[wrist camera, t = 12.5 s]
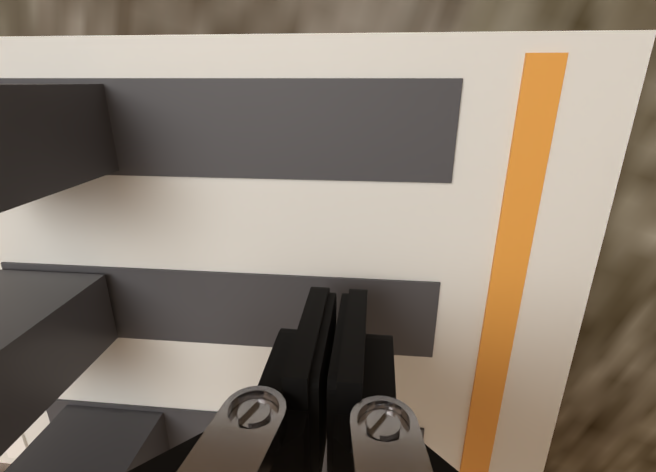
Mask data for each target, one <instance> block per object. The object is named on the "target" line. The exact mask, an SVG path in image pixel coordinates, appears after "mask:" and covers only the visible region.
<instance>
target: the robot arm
mask: <svg viewBox="0 0 656 472" xmlns="http://www.w3.org/2000/svg"><path fill="white" fill-rule="evenodd" d="M367 293H368V290H365V289H349V293H342V295H341V301H340V307H339V312H338V318H337V324H336V309H337V295H336V293H331V292H330V288H328V287H311V288H310V291H309V294H308V297H307V300H306V303H305V306H304V310H303V313H302V316H301V319H300V322H299V325H298V328H297V329H286V328H281V329H280V330H279V332H278V335H277V337H276V340H275V342H274V345H273V347H272V350H271V353H270V355H269V358H268V360H267V363H266V365H265V368H264V370H263V373H262V375H261V378H260V381H259V383H258V386H251V387H246V388H243V389H241V390H238V391H237V392H235V393H233V394H232V395H230V396H229V397H228V399H227V400H226V401H225V402H224V403H223V405H222V406H221V407H220V409H219V410H218V412H217V413H216V415H215V416H214V418H213V419H212V421H211V422H210V424H209V425H208V426H207V428H206V429H205V431H204V432H202V433H200V434H198V435H196V436H194V437H193V438H191V439H189V440H187V441H185V442H183V443H181V444H179V445H177V446H175V447H173V448H172V449H170V450H168V451H166V452H164V453H162V454H160V455H158V456H156V457H154V458H152V459H151V460H149V461H147V462H145V463H143V464H141V465H139V466H137V467H135V468H133V469H131V470H130V471H128V472H322V468H323V461H324V454H325V447H326V440H327V472H459V471H457V470H456V469H455V468H454V467H452V466H451V465H450V464H449V463H448V462H446V461H445V460H444V459H443V458H442V457H440V456H439V455H438V454H437V453H435V452H434V451H433V450H432V449H431V448H429V447H428V446H427V445H426V444H425V443H424V440H423V437H422V433H421V430H420V427H419V423H418V420H417V418H416V416H415V414H414V412H413V410H412V409H411V408H410V407H409V406H408V405H407V404H405V403H403V402H402V401H400V400H398V399H396V384H395V366H394V348H393V336H392V335H377V334H366V319H367Z"/></svg>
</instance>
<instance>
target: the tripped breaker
mask: <svg viewBox="0 0 656 472" xmlns="http://www.w3.org/2000/svg"><path fill="white" fill-rule="evenodd" d="M117 338H118V335H117V330H116V325H115V321H114V316H113V311H112V307H111V302H110V297H109V293H108V288H107V283H106V279H105V274H84V273H63V272H42V271H21V270H1V269H0V457H1V456H2V455H3V454H4V452H5V451H6V450H7V449H8V448H9V447H10V446H11V445H12V444H13V443H14V442H15V441H16V440H17V439H18V438H19V437H20V436H21V435H22V434H23V433H24V432H25V431H26V430H27V429H28V428H29V427H30V426H31V425H32V424H33V423H34V422H35V421H36V420H37V419H38V418H39V417H40V416H41V415H42V414H43V413H44V412H45V411H46V410H47V409H48V408H49V407H50V406H51V405H52V404H53V403H54V402H55V401H56V400H57V399H58V398H59V397H60V396H61V395H62V394H63V393H64V392H65V391H66V390H67V389H68V388H69V387H70V386H71V385H72V384H73V383H74V382H75V381H76V380H77V379H78V378H79V377H80V376H81V375H82V374H83V373H84V372H85V371H86V370H87V369H88V368H89V366H90V365H91V364H92V363H93V362H94V361H95V360H96V359H97V358H98V357H99V356H100V355H101V354H102V353H103V352H104V351H105V350H106V349H107V348H108V347H109V346H110V345H111V344H112V343H113V342H114V341H115V340H116V339H117Z"/></svg>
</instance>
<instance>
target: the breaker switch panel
mask: <svg viewBox="0 0 656 472" xmlns="http://www.w3.org/2000/svg"><path fill="white" fill-rule="evenodd" d="M655 36H656V30H605V31H506V32H406V33H307V34H208V35H109V36H10V37H0V269H1V270H21V271H42V272H63V273H84V274H105V279H106V283H107V288H108V293H109V297H110V302H111V307H112V311H113V316H114V321H115V325H116V330H117V335H118V338H117V339H116V340H115V341H114V342H113V343H112V344H111V345H110V346H109V347H108V348H107V349H106V350H105V351H104V352H103V353H102V354H101V355H100V356H99V357H98V358H97V359H96V360H95V361H94V362H93V363H92V364H91V365H90V366H89V368H88V369H87V370H86V371H85V372H84V373H83V374H82V375H81V376H80V377H79V378H78V379H77V380H76V381H75V382H74V383H73V384H72V385H71V386H70V387H69V388H68V389H67V390H66V391H65V392H64V393H63V394H62V395H61V396H60V397H59V398H58V399H57V400H56V401H55V402H54V403H53V404H52V405H51V406H50V407H49V408H48V409H47V410H46V411H45V412H44V413H43V414H42V415H41V416H40V417H39V418H38V419H37V420H36V421H35V422H34V423H33V424H32V425H31V426H30V427H29V428H28V429H27V430H26V431H25V432H24V433H23V434H22V435H21V436H20V437H19V438H18V439H17V440H16V441H15V442H14V443H13V444H12V445H11V446H10V447H9V448H8V449H7V450H6V451H5V452H4V454H3V455H2V456H1V457H0V462H1V463H11V465H10V466H9V467H8V468H7V469H6V470H5V471H4V472H128V471H130V470H131V469H133V468H135V467H137V466H139V465H141V464H143V463H145V462H147V461H149V460H151V459H152V458H154V457H156V456H158V455H160V454H162V453H164V452H166V451H168V450H170V449H172V448H173V447H175V446H177V445H179V444H181V443H183V442H185V441H187V440H189V439H191V438H193V437H194V436H196V435H198V434H200V433H202V432H204V431H205V429H206V428H207V426H208V425H209V424H210V422H211V421H212V419H213V418H214V416H215V415H216V413H217V412H218V410H219V409H220V407H221V406H222V405H223V403H224V402H225V401H226V400H227V399H228V397H229V396H230V395H232V394H233V393H235V392H237V391H238V390H241V389H243V388H246V387H251V386H258V383H259V381H260V378H261V375H262V373H263V370H264V368H265V365H266V363H267V360H268V358H269V355H270V353H271V350H272V347H273V345H274V342H275V340H276V337H277V335H278V332H279V330H280V329H281V328H286V329H297V328H298V325H299V322H300V319H301V316H302V313H303V310H304V306H305V303H306V300H307V297H308V294H309V291H310V288H311V287H328V288H330V292H331V293H336V295H337V309H336V324H337V318H338V312H339V307H340V301H341V295H342V293H349V289H365V290H368V293H367V319H366V334H377V335H392V336H393V348H394V366H395V384H396V399H398V400H400V401H402V402H403V403H405V404H407V405H408V406H409V407H410V408H411V409H412V410H413V412H414V414H415V416H416V418H417V420H418V423H419V427H420V430H421V433H422V437H423V440H424V443H425V444H426V445H427V446H428V447H429V448H431V449H432V450H433V451H434V452H435V453H437V454H438V455H439V456H440V457H442V458H443V459H444V460H445V461H446V462H448V463H449V464H450V465H451V466H452V467H454V468H455V469H456V470H457V471H459V472H543V471H544V467H545V463H546V460H547V456H548V452H549V448H550V444H551V440H552V436H553V432H554V428H555V425H556V421H557V417H558V413H559V409H560V405H561V401H562V397H563V393H564V390H565V386H566V382H567V378H568V374H569V370H570V366H571V362H572V358H573V355H574V351H575V347H576V343H577V339H578V335H579V331H580V327H581V323H582V319H583V316H584V312H585V308H586V304H587V300H588V296H589V292H590V288H591V284H592V281H593V277H594V273H595V269H596V265H597V261H598V257H599V253H600V249H601V246H602V242H603V238H604V234H605V230H606V226H607V222H608V218H609V214H610V211H611V207H612V203H613V199H614V195H615V191H616V187H617V183H618V179H619V176H620V172H621V168H622V164H623V160H624V156H625V152H626V148H627V144H628V141H629V137H630V133H631V129H632V125H633V121H634V117H635V113H636V109H637V106H638V102H639V98H640V94H641V90H642V86H643V82H644V78H645V74H646V71H647V67H648V63H649V59H650V55H651V51H652V47H653V43H654V39H655ZM322 472H327V440H326V447H325V454H324V461H323V468H322Z"/></svg>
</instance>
